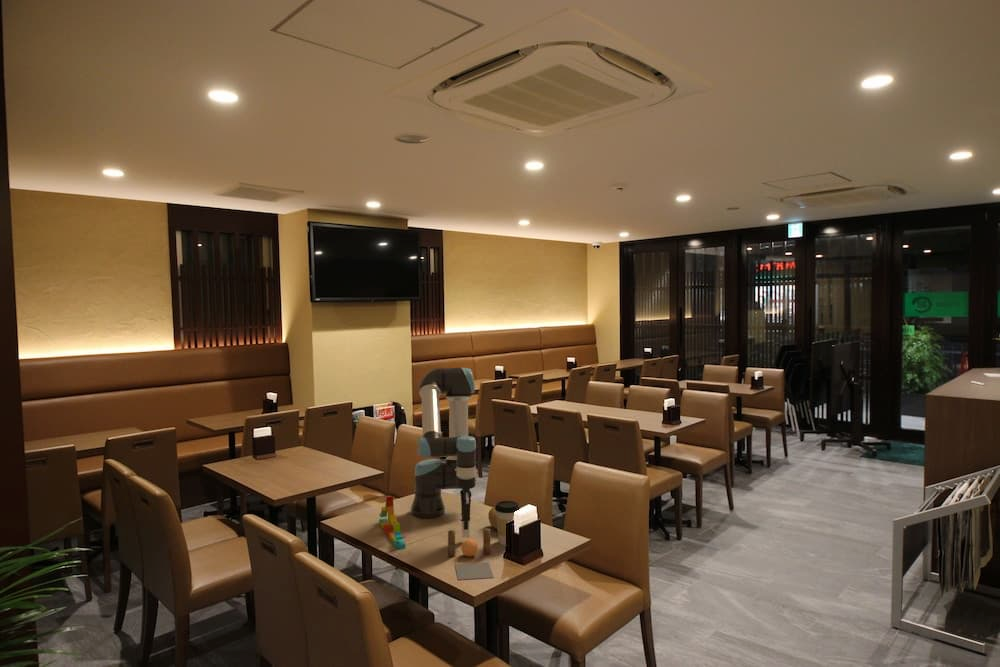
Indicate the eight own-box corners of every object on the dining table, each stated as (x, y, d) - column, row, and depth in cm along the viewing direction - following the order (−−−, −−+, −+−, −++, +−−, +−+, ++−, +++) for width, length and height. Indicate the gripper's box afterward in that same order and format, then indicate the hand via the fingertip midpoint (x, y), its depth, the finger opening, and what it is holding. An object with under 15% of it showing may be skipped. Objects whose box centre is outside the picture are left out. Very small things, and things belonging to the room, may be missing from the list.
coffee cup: (522, 545, 226) (523, 506, 225) (498, 548, 223) (498, 509, 222) (515, 536, 235) (515, 499, 234) (491, 538, 232) (491, 501, 232)
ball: (461, 559, 215) (460, 543, 219) (477, 558, 216) (476, 542, 220) (462, 552, 211) (461, 536, 215) (479, 551, 212) (477, 535, 216)
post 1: (447, 554, 216) (447, 530, 216) (454, 554, 217) (454, 530, 216) (448, 557, 214) (448, 533, 213) (455, 557, 214) (455, 532, 214)
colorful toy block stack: (406, 548, 222) (406, 509, 222) (397, 550, 221) (398, 510, 220) (386, 522, 250) (386, 487, 249) (378, 523, 248) (379, 488, 248)
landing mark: (454, 564, 207) (454, 564, 207) (488, 562, 209) (488, 562, 209) (458, 580, 196) (458, 579, 196) (493, 577, 198) (493, 577, 198)
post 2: (482, 552, 218) (483, 528, 218) (489, 552, 219) (489, 528, 219) (483, 555, 216) (484, 531, 216) (490, 554, 216) (490, 530, 216)
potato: (497, 536, 234) (497, 517, 234) (483, 525, 247) (483, 506, 247) (519, 533, 238) (519, 513, 238) (504, 521, 251) (504, 503, 251)
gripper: (454, 472, 234) (454, 530, 235) (457, 481, 221) (457, 543, 222) (473, 471, 235) (472, 529, 236) (477, 481, 222) (477, 542, 223)
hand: (465, 536), depth 229 cm, fingers closed
